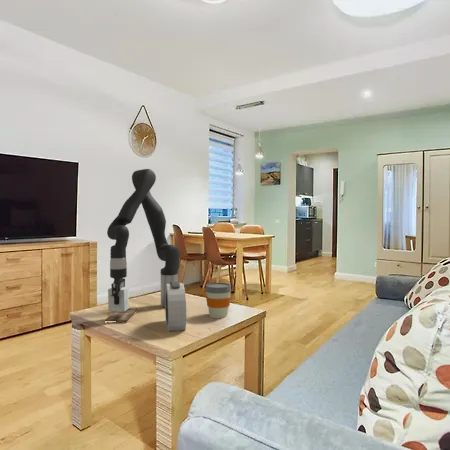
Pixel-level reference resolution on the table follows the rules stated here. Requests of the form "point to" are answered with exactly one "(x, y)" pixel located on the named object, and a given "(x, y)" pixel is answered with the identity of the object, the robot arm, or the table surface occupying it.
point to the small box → (123, 300)
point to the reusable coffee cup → (218, 299)
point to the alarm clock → (175, 306)
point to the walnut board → (121, 315)
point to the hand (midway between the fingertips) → (118, 302)
